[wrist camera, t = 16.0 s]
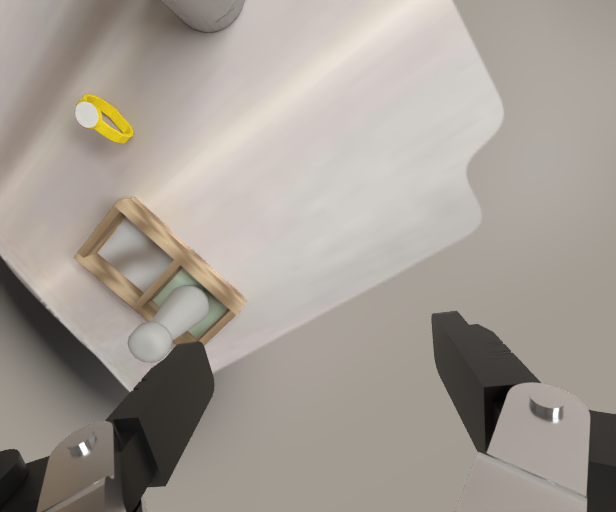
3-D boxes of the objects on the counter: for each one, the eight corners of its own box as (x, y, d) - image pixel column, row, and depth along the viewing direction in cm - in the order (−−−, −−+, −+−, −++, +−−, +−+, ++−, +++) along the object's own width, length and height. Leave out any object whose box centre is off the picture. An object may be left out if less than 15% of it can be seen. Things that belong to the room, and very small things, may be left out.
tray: (91, 252, 46) (72, 259, 42) (135, 197, 43) (118, 200, 40) (200, 345, 49) (190, 358, 46) (247, 300, 46) (240, 310, 43)
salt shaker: (186, 320, 46) (132, 378, 34) (168, 286, 45) (106, 333, 33) (221, 309, 46) (179, 364, 33) (204, 274, 44) (154, 318, 32)
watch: (99, 111, 40) (58, 99, 35) (113, 96, 40) (74, 81, 34) (131, 149, 41) (95, 144, 35) (145, 135, 40) (111, 127, 35)
